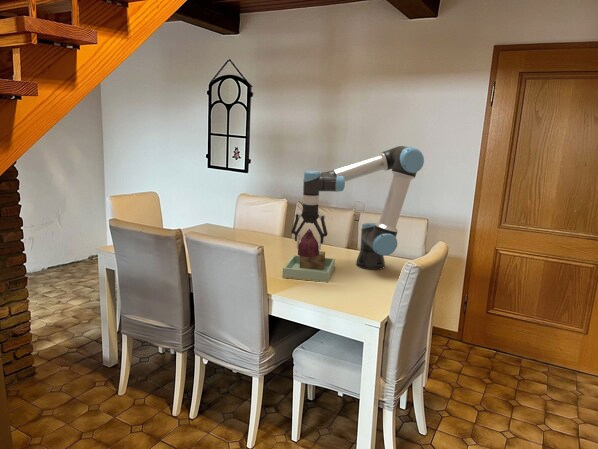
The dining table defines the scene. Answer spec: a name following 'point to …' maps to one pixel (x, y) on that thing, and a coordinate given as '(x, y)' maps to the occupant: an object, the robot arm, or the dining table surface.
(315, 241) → the vegetable
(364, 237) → the robot arm
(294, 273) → the tray
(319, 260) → the walnut block
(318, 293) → the dining table surface
